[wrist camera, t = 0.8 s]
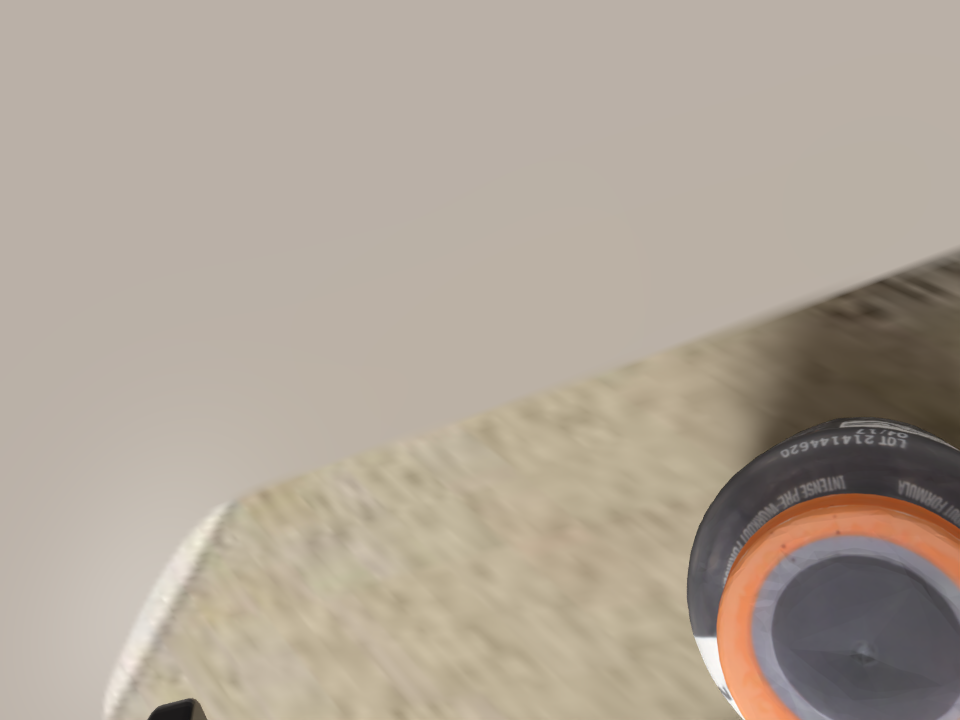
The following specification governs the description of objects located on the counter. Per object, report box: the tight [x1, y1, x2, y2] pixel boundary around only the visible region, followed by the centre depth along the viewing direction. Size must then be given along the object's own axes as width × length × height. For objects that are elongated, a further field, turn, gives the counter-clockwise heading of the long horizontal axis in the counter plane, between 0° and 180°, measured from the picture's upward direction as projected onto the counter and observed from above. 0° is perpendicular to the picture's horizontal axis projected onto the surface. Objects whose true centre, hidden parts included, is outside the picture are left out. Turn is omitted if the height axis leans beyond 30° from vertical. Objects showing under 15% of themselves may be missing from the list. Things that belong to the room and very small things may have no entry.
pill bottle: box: [687, 417, 960, 720], centre depth 17 cm, size 6×6×11 cm
